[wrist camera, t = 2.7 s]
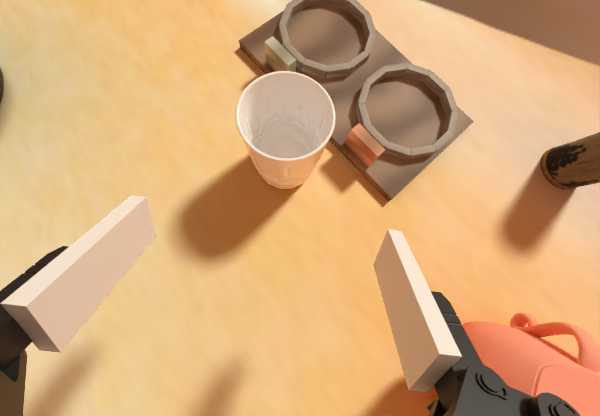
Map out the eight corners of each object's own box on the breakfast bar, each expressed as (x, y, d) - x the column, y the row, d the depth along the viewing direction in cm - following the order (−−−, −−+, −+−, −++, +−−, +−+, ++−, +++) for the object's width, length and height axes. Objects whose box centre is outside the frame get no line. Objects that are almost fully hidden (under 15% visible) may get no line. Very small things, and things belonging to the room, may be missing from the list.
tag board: (240, 47, 32) (234, 17, 28) (324, -10, 35) (329, -44, 31) (388, 200, 29) (404, 191, 25) (467, 125, 32) (493, 107, 28)
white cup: (252, 195, 28) (235, 162, 19) (250, 132, 30) (234, 70, 20) (320, 193, 29) (339, 159, 19) (316, 130, 31) (331, 70, 21)
